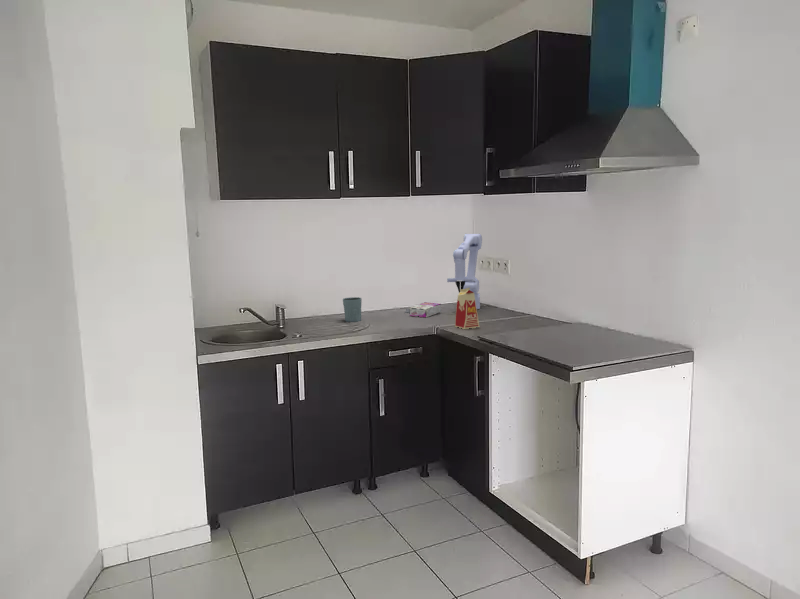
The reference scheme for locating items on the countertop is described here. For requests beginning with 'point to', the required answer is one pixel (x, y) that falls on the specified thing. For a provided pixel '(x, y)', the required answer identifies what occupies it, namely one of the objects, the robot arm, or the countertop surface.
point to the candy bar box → (425, 309)
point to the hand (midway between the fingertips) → (460, 294)
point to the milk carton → (466, 310)
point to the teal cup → (352, 309)
